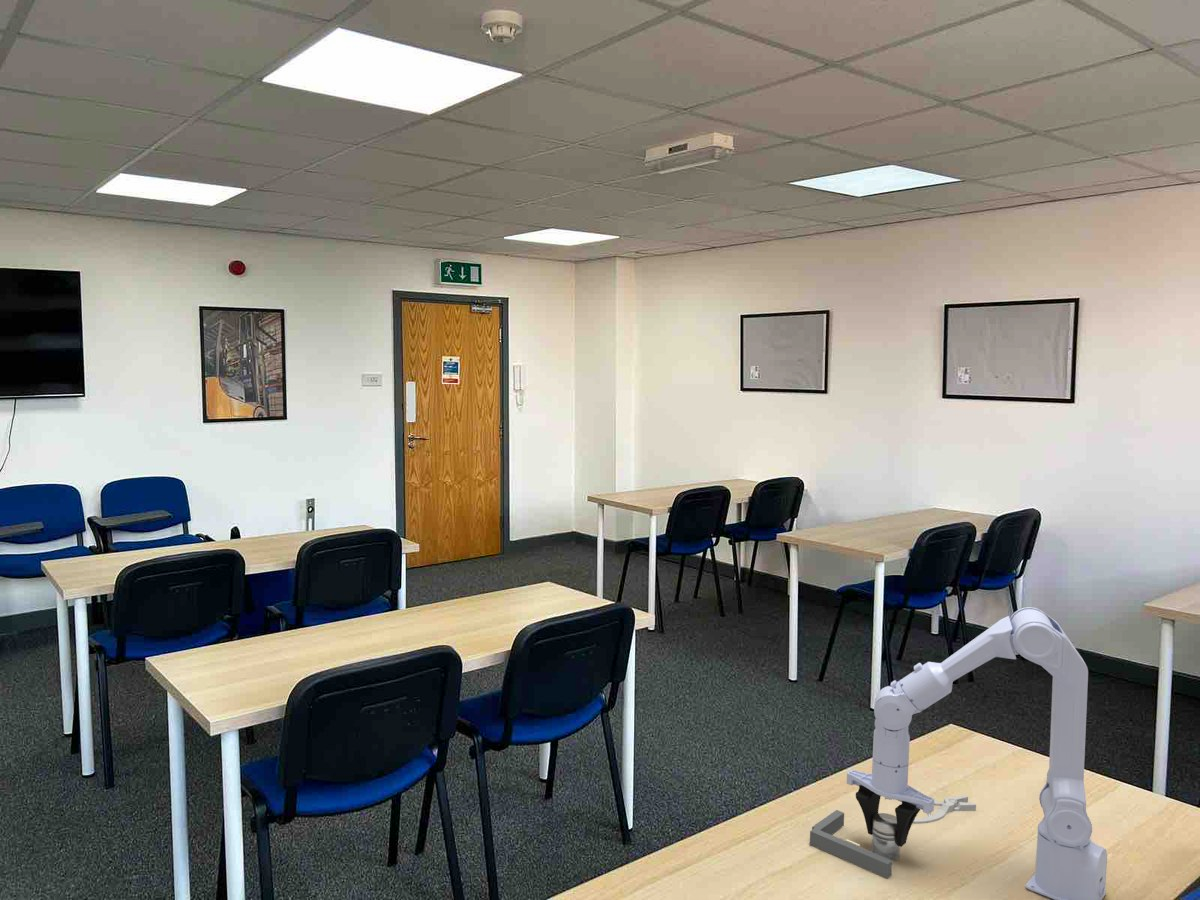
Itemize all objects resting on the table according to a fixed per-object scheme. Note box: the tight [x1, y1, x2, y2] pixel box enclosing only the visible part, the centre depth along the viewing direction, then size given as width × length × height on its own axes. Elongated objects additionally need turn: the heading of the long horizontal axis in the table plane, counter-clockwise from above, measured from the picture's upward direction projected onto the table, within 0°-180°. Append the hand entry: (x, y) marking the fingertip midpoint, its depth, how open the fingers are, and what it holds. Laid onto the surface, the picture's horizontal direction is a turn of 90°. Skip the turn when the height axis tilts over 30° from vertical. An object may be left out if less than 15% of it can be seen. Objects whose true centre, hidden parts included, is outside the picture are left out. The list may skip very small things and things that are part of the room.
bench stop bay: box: [809, 809, 893, 879], centre depth 144 cm, size 14×10×2 cm
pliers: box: [884, 794, 977, 825], centre depth 159 cm, size 10×2×15 cm
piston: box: [871, 812, 900, 862], centre depth 143 cm, size 5×5×6 cm
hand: (886, 838), depth 143 cm, fingers closed on piston, 4 cm apart
